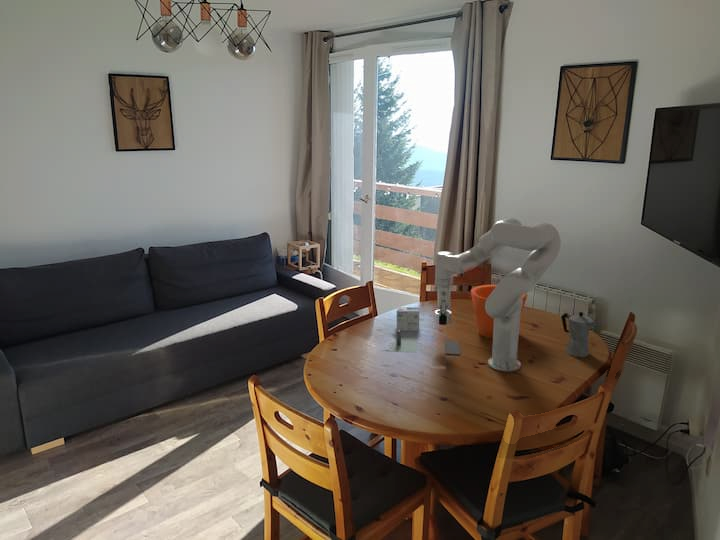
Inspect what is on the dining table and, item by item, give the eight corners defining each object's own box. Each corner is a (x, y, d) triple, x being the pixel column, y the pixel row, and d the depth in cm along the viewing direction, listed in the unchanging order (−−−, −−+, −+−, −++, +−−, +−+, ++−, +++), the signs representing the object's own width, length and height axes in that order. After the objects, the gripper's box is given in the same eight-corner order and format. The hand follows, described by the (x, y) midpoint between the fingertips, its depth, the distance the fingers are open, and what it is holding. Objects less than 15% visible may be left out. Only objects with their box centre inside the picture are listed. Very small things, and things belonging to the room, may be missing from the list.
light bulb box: (419, 327, 247) (419, 306, 244) (419, 333, 241) (419, 311, 238) (396, 327, 248) (396, 306, 246) (396, 332, 242) (396, 310, 239)
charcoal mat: (459, 355, 215) (459, 354, 215) (426, 353, 217) (426, 352, 217) (458, 342, 229) (458, 341, 229) (426, 341, 231) (426, 340, 231)
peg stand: (416, 354, 217) (416, 338, 215) (378, 352, 219) (378, 337, 217) (417, 340, 232) (417, 325, 230) (382, 338, 234) (382, 324, 233)
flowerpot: (531, 343, 226) (534, 300, 221) (474, 343, 227) (476, 301, 222) (516, 323, 250) (518, 284, 246) (464, 324, 251) (466, 285, 246)
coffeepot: (598, 355, 212) (603, 314, 208) (585, 361, 207) (589, 318, 203) (566, 343, 225) (569, 304, 220) (552, 348, 220) (555, 308, 215)
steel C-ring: (451, 325, 216) (451, 315, 215) (434, 324, 217) (434, 314, 216) (450, 319, 223) (451, 309, 222) (434, 318, 224) (434, 309, 223)
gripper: (453, 287, 207) (452, 329, 211) (452, 276, 223) (450, 314, 228) (434, 286, 208) (433, 328, 212) (434, 275, 224) (433, 314, 229)
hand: (442, 320), depth 220 cm, fingers closed on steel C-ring, 7 cm apart
